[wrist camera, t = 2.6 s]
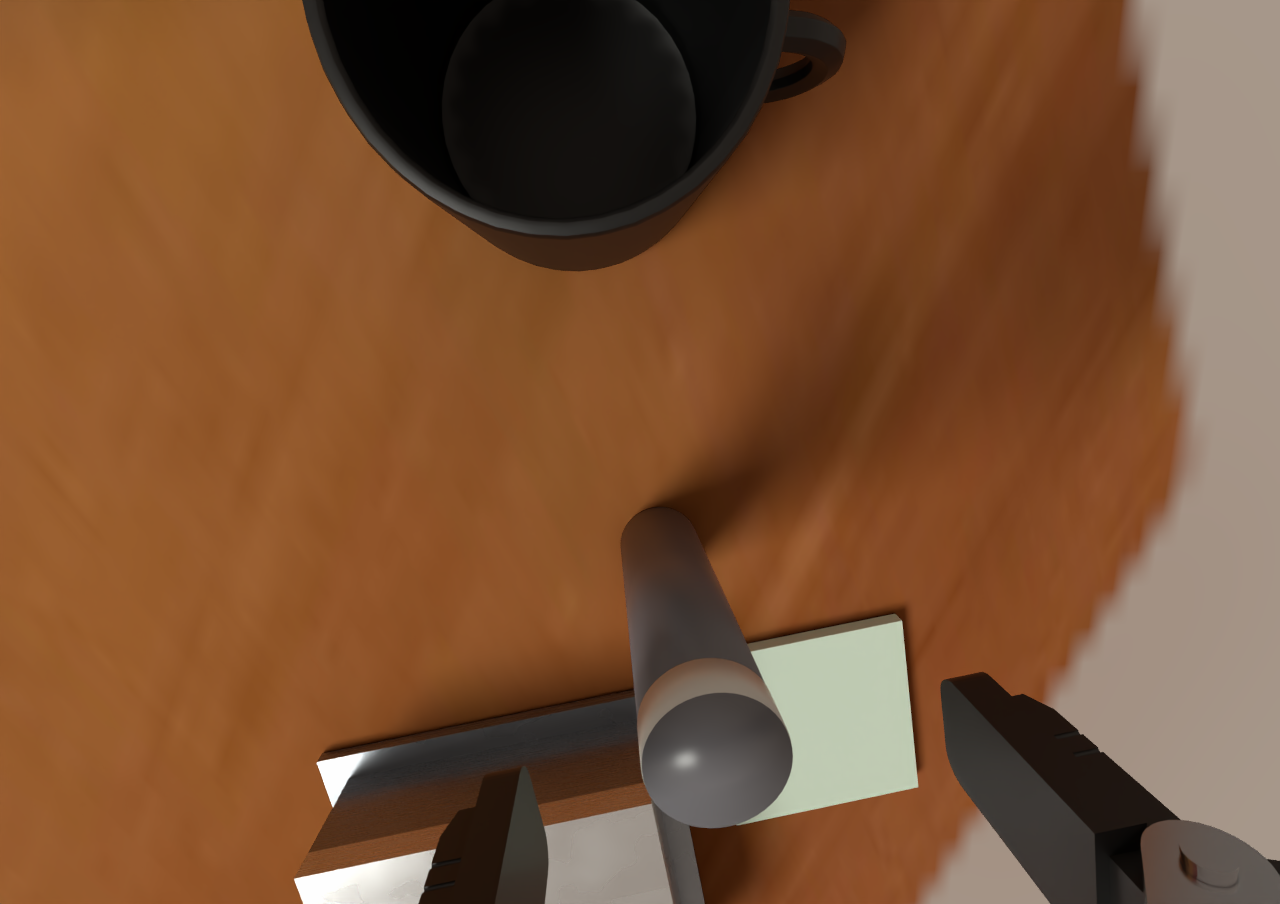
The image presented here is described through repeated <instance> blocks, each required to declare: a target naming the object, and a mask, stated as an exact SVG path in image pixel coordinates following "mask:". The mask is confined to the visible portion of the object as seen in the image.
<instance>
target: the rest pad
mask: <svg viewBox="0 0 1280 904" xmlns="http://www.w3.org/2000/svg"><path fill="white" fill-rule="evenodd" d="M747 645H748V647H749V649H750V651H751V654H752V656H753V658H754V660H755V662H756V665H757V667H758V669H759V671H760V673H761V675H762V678H763V680H764V682H765V684H766V686H767V688H768V689H769V691H770V693H771V695H772V697H773V699H774V702H775V704H776V706H777V708H778V710H779V713H780V715H781V717H782V719H783V721H784V723H785V726H786V728H787V730H788V733H789V735H790V739H791V744H792V751H793V762H792V769H791V773H790V776H789V779H788V781H787V783H786V785H785V787H784V789H783V791H782V792H781V794H780V795H779V796H778V798H777V799H776V800H775V801H774V802H773V803H772V804H771V805H770V806H769V807H768V808H766V809H765V810H764V811H763V812H761V813H760V814H758V815H757V816H755V817H753V818H751V819H749V820H747V821H745V822H742V823H740V824H736V825H742V824H747V823H752V822H756V821H761V820H766V819H770V818H775V817H780V816H785V815H789V814H794V813H799V812H803V811H808V810H813V809H818V808H822V807H827V806H832V805H836V804H841V803H846V802H851V801H855V800H860V799H865V798H869V797H874V796H879V795H884V794H888V793H893V792H898V791H903V790H907V789H912V788H917V787H918V780H917V769H916V759H915V749H914V738H913V728H912V718H911V707H910V697H909V687H908V676H907V666H906V656H905V645H904V635H903V625H902V620H901V619H900V618H899V617H898V616H897V615H896V614H891V615H886V616H881V617H876V618H871V619H866V620H861V621H856V622H852V623H847V624H842V625H837V626H832V627H827V628H822V629H817V630H813V631H808V632H803V633H798V634H793V635H788V636H783V637H778V638H773V639H769V640H764V641H759V642H754V643H749V644H747Z"/></svg>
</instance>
